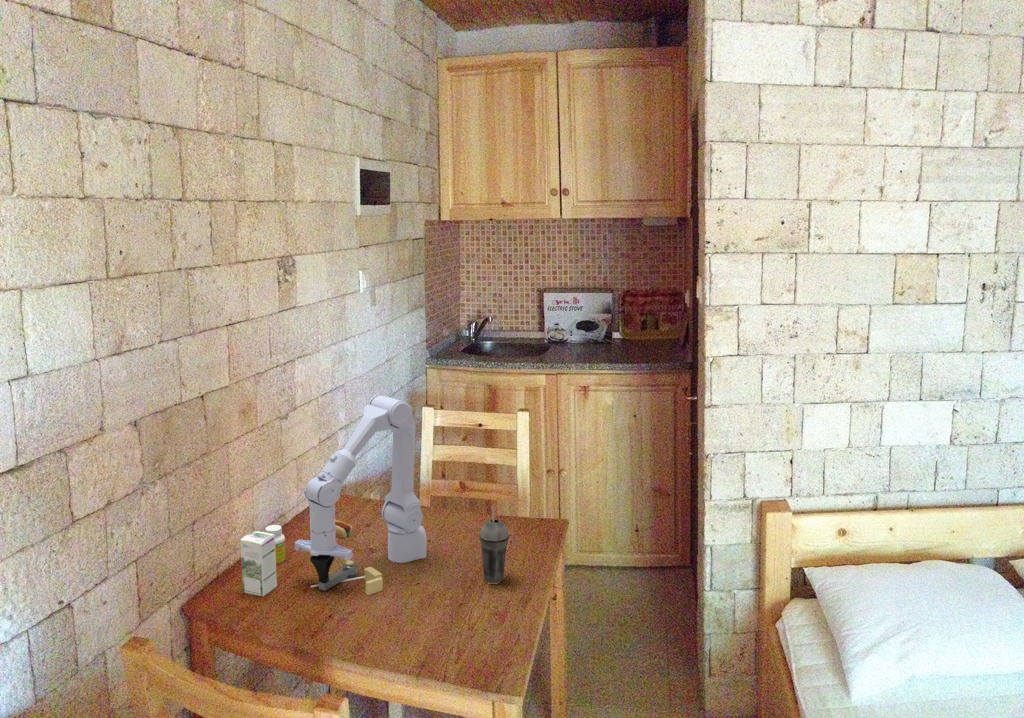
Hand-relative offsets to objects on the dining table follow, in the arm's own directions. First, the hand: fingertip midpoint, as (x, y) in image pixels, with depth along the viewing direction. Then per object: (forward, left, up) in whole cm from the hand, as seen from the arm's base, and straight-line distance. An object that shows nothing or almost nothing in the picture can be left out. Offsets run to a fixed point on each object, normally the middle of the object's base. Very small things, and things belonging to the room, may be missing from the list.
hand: (324, 582), depth 196 cm
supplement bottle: (+8, -19, -2) cm, 21 cm away
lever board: (-5, +1, -2) cm, 6 cm away
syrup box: (+14, -4, -2) cm, 15 cm away
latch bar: (-4, -1, -1) cm, 4 cm away
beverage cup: (-39, +11, -2) cm, 41 cm away
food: (-10, -32, -2) cm, 33 cm away
